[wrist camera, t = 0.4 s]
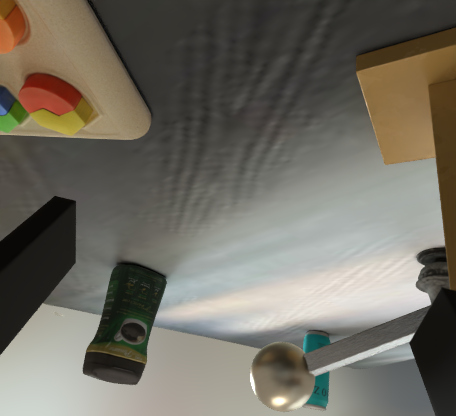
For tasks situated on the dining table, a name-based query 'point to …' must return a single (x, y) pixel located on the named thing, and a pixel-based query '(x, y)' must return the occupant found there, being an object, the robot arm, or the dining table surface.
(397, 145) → the wooden lever stand
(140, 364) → the coffee jar
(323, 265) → the dining table surface
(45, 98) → the puzzle board
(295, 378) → the tap lever
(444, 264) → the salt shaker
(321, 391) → the beverage can
